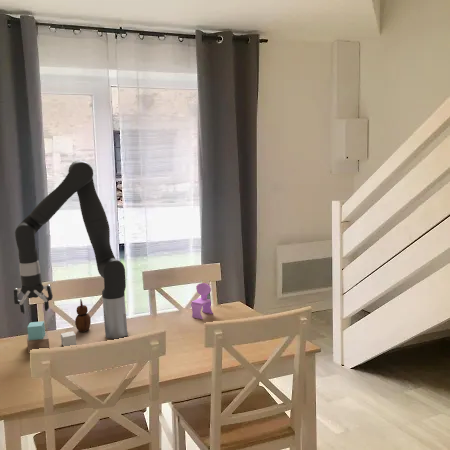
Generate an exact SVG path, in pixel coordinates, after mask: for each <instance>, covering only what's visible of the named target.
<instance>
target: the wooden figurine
mask: <svg viewBox="0 0 450 450" xmlns="http://www.w3.org/2000/svg"><path fill="white" fill-rule="evenodd" d="M79 299H80V301H79V302H80V304H79V305H78V306H77V307H76V317H75V321H74V324H75V327H76V329H77V331H78V332H80V333H85V332H87V331H89V329H90V327H91V323H92V322H91V316H90V314H89V313H88V310H89V309H88V306H87V305H85V304H84V303H83V300H82V298H79Z"/></svg>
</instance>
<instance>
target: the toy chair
mask: <svg viewBox="0 0 450 450" xmlns="http://www.w3.org/2000/svg"><path fill="white" fill-rule="evenodd" d="M196 291H197V294H198V295H200V297H198V298H196V299H195V300H192V301H191V304H190V306H191V313H192V316H191V318H195V319H200V320H203V319H204V318H203V316H202V313H205V314H210V315H214V312H213V310H212V307H211V305H212V300H211V299H208V295H209V294H211V292H212V289H211V286H210V285H209V284H208V283H206V282H201V283H198V284H197V285H196Z"/></svg>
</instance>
